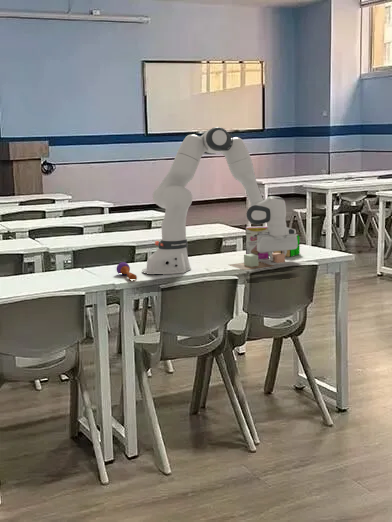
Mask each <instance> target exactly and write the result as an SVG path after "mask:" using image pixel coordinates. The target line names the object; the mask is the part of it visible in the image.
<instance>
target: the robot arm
mask: <svg viewBox="0 0 392 522" xmlns="http://www.w3.org/2000/svg"><path fill="white" fill-rule="evenodd" d="M217 153H221V154H222V155H223V156H224V158H225V159H226V163H227V166H228V169H229V171H230V173H231V175H232V177H233V178H234V179H235V181H236V180H237V181H238V182H239V183H240V184H241V185H242V186H243V187H244V189H245V193H246V194H247V197H248V200H249V202H250V206H249V207H248V209H247V211H246V218H247V220H248V222H249V223H250V224H252V225H255V226H259V225H262V224H266V226H267V232H265V233H260V234H259V235H258V236H257V251H258V252H260V253H265V252H268V255H269V261H270V262H273V261H275V257H273V256H272V254H273V252H274V251H282V252H283V254H285V255H286V253H287V250H292V249H296V248H297V247H298V242H297V236H296V235H297V230H296V229H295V228H291V227H289V226H287V221H286V220H287V219H286V217H287V205H286V201H285V199H284V198H283V197H280V196H275V195H269V196H268V197H267V198H265V199H264V197H263V195H262V192H261V190H260V187H259V185H258V181H257V178H256V173H255V169H254V164H253V160H252V157H251V154H250V152H249V150H248V148H247V146H246V143H245V142H244V140H243V139H242V138H240V137H237V136H235V137H233V136H232V135H231V134H230V133H229V132H228V131H227V130H226V129H225V128H224V127H220V126H215V127H212V128H209V129H208V130H206V131H205V132H204V133H202V134H201V135H200V136H199V135H197V134H188V135H187V136H185V138H183V141H182V142H181V144H180V146H179V148H178V149H177V152H176V155H175V157H174V159H173V162H172V164H171V167H170V169H169V170H168V172H167V173H166V175H165V177H164V178H163V180H162V182H161V183H160V184H159V186H157V187H156V188H155V189H154V190H153V193H152V200H153V202H154V204H155V205H156V206H158V207H159V208H161V209H165V212H164V217H163V220H162V221H161V225H160V226H161V240H160V241H159V240H155V241H154V245H155V246H158V249H157V250H156V251H154V252H153V253H152V254H151V255H150V256H149V257H148V258H147V261H146V267H145V268H142V270H141V272H142V271H143V272H145V273H148V274H163V275H171V274H172V275H174V274H184V273H187V271H188V272H189V271H191V270H192V267H191V265H190V260H189V256H188V255H189V254H188V248H189V247H188V239H187V229H186V228H187V227H186V225H187V215H188V211H189V208H190V206H191V205H192V202H193V194H192V192H191V191H190V190H189V189H188V188H187V187H186V186H187V185H188V184H189V183H190V182H191V181H192V180H193V179H194V177H195V174H196V172H197V169H198V166H199V164H200V162H201V158H202V156H203V155H204V154H205V155H215V154H217ZM143 272H142V273H143Z"/></svg>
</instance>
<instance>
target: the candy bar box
mask: <svg viewBox="0 0 392 522" xmlns="http://www.w3.org/2000/svg"><path fill="white" fill-rule="evenodd" d="M265 232H267V225H265V226H263V225H262V226H245V254H255V255H258V260H262V259H263V260H264V259H268V260H270V257H269V255H268V252H265V253H260V252H258V251H257V236H258V235H259V234H260V233H265Z"/></svg>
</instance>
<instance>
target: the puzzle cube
mask: <svg viewBox="0 0 392 522" xmlns="http://www.w3.org/2000/svg"><path fill="white" fill-rule="evenodd" d="M295 235H296V236H297V242H298V247H297V248H296V249H292V250H287V253H286V255H285V258H292V257H295V256H298V255H300V254H301V253H300V250H301V249H300V235H299V234H295ZM273 253H281V254H283V252H282V251H274V252H273Z"/></svg>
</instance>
